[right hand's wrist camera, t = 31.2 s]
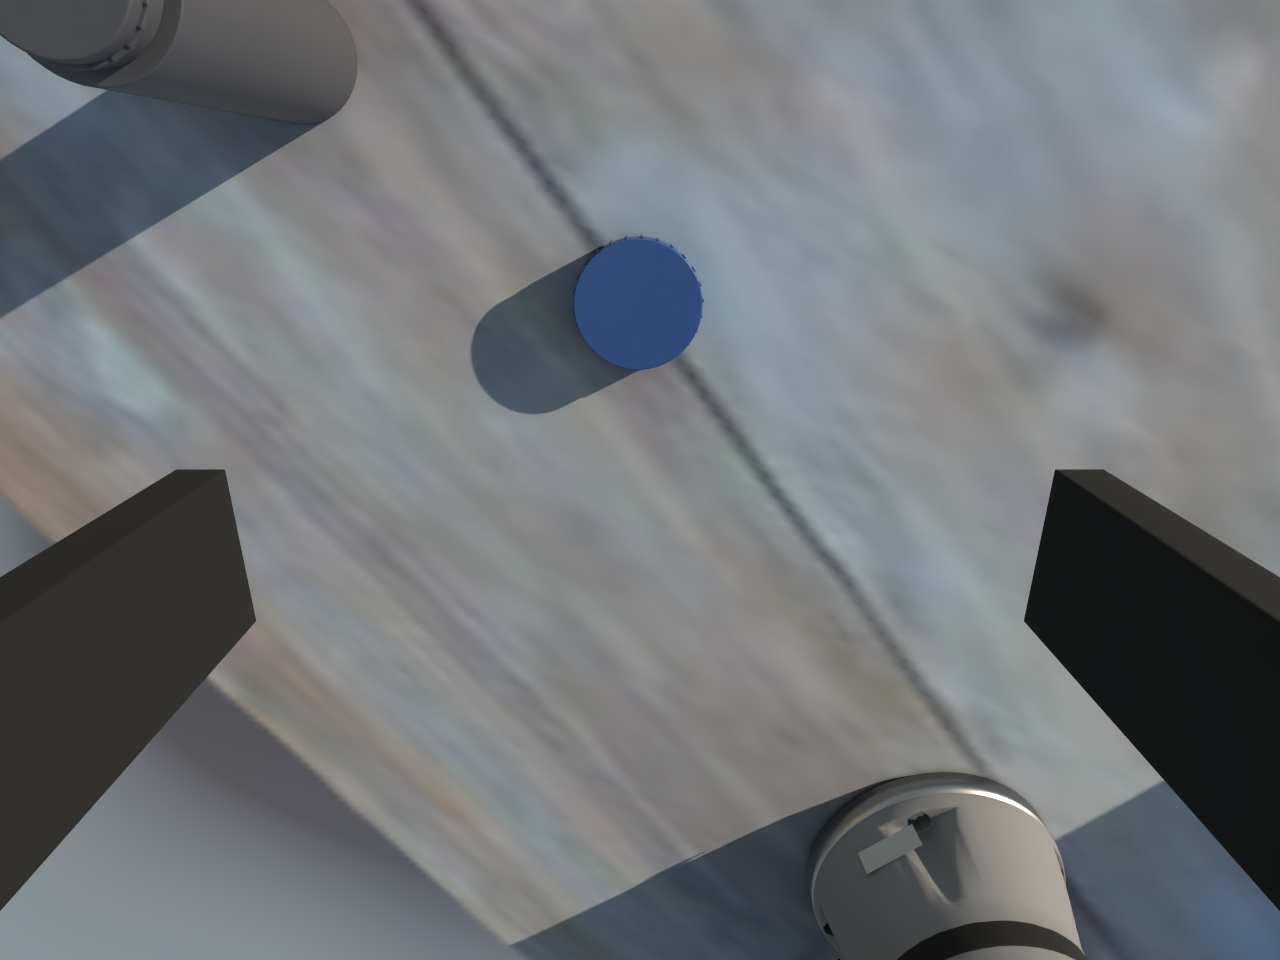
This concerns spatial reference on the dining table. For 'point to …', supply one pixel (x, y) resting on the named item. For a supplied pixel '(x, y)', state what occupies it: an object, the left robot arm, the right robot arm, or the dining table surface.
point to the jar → (196, 51)
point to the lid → (638, 303)
